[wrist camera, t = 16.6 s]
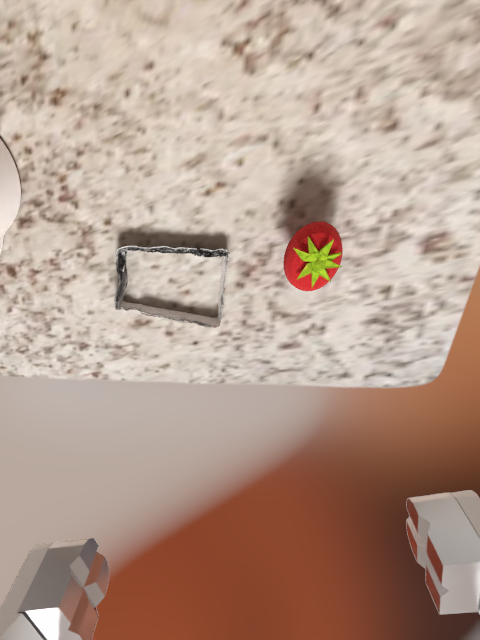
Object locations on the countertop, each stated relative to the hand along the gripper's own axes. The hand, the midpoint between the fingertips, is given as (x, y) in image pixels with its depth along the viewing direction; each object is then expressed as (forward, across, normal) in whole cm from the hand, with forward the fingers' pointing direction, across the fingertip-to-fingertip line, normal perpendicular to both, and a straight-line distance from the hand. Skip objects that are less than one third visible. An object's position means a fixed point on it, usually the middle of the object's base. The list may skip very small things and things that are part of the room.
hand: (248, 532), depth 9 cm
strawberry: (+37, -7, +3) cm, 38 cm away
